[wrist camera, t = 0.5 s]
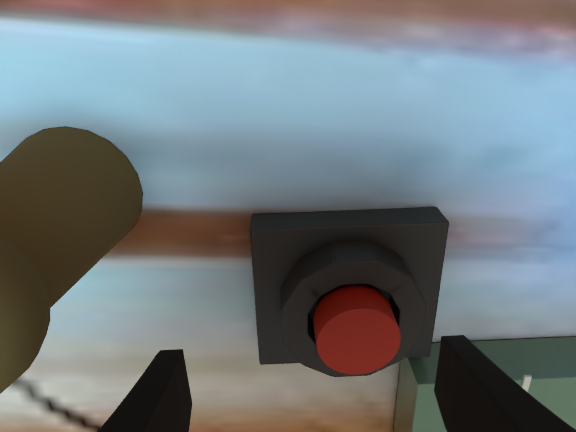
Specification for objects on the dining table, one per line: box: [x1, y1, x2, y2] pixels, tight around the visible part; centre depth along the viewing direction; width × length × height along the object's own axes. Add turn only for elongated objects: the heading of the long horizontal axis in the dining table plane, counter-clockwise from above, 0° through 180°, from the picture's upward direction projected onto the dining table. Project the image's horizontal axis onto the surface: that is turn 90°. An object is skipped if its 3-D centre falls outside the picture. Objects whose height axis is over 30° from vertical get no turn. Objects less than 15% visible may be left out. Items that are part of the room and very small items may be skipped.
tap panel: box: [393, 337, 576, 432], centre depth 26 cm, size 10×11×3 cm
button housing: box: [250, 207, 449, 377], centre depth 22 cm, size 8×9×4 cm
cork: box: [0, 127, 143, 393], centre depth 16 cm, size 6×6×11 cm
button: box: [313, 285, 401, 374], centre depth 20 cm, size 4×4×2 cm
